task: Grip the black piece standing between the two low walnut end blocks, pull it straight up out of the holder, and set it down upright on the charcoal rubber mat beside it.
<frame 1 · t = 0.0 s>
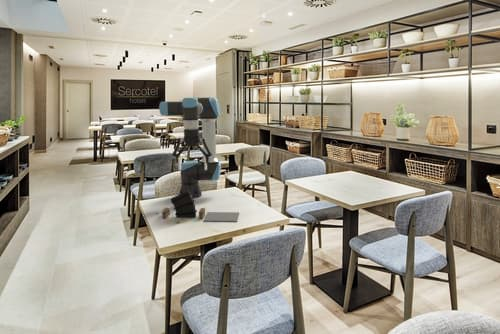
hand: (192, 169, 181), 28 cm above the table, tool pointing down, fingers open, 13 cm apart
black piece: (184, 217, 193), on the table
walnut holder: (184, 216, 192), on the table
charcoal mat: (221, 217, 191), on the table
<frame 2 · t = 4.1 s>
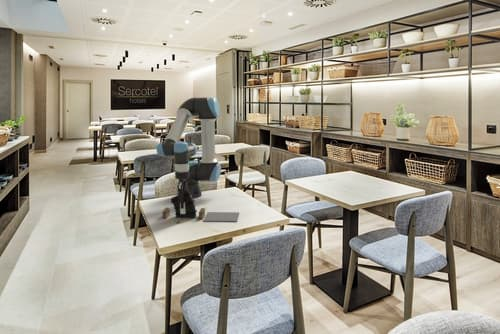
hand: (183, 212, 192), 3 cm above the table, tool pointing down, fingers closed on black piece, 4 cm apart
black piece: (184, 217, 193), on the table, touching gripper
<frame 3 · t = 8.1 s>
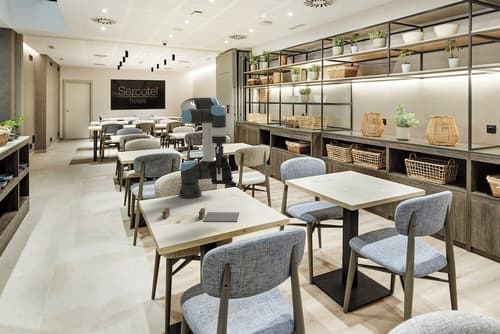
hand: (220, 178, 187), 22 cm above the table, tool pointing down, fingers closed on black piece, 4 cm apart
black piece: (220, 184, 188), point 19 cm above the table, touching gripper
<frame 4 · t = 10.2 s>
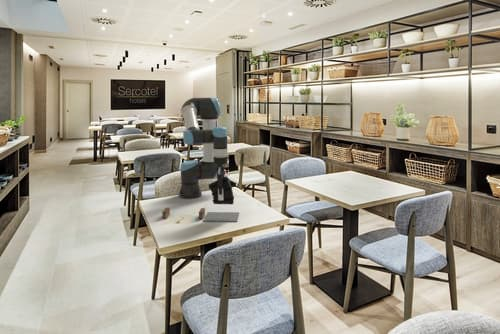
hand: (221, 198, 189), 11 cm above the table, tool pointing down, fingers closed on black piece, 4 cm apart
black piece: (221, 203, 190), point 8 cm above the table, touching gripper
when the fingers open (5 cm above the table, at t = 12.0 s): black piece drops 1 cm, resting on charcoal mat.
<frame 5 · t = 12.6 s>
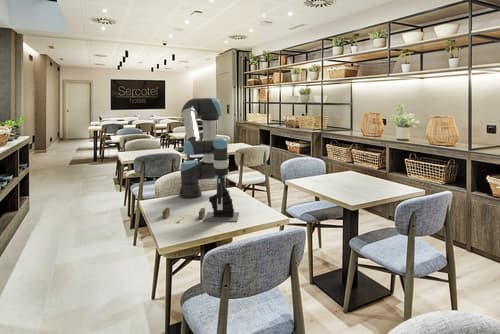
hand: (221, 205, 190), 7 cm above the table, tool pointing down, fingers open, 12 cm apart
black piece: (221, 216, 191), resting on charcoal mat
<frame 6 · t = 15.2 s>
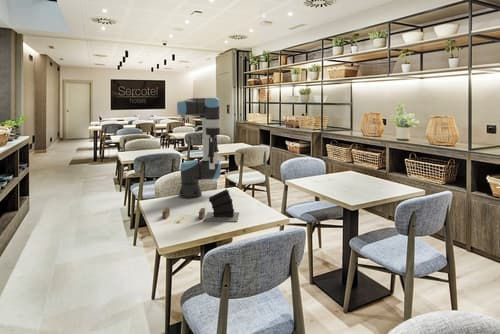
hand: (213, 166, 190), 28 cm above the table, tool pointing down, fingers open, 13 cm apart
nothing on the table moved.
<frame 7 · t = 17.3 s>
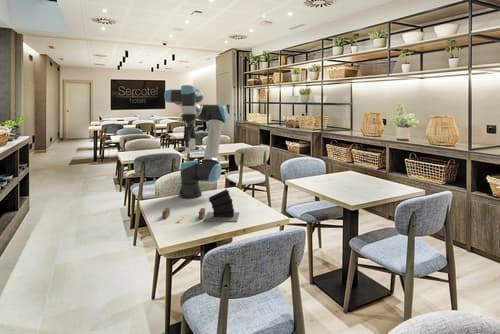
hand: (190, 151, 198), 35 cm above the table, tool pointing down, fingers open, 13 cm apart
nothing on the table moved.
at the end: black piece inside the target area on the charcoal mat (0.0 cm from its centre), point 0.4 cm above the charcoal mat's base; black piece tilted 1°; the gripper is holding nothing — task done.
